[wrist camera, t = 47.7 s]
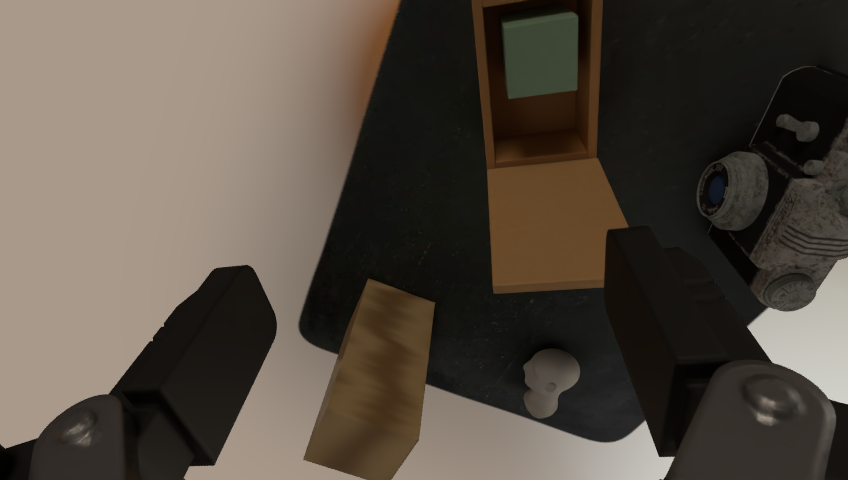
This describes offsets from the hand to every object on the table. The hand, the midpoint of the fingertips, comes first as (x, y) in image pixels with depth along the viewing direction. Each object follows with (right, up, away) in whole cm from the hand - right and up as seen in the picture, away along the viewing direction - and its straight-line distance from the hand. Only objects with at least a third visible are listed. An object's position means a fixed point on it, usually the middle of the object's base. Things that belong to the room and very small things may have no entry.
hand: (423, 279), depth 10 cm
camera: (+24, +7, +25) cm, 35 cm away
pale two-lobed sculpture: (+13, -12, +39) cm, 43 cm away
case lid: (+7, +3, +16) cm, 18 cm away
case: (+8, +13, +22) cm, 27 cm away
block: (+7, +14, +21) cm, 26 cm away
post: (-3, -7, +36) cm, 37 cm away
